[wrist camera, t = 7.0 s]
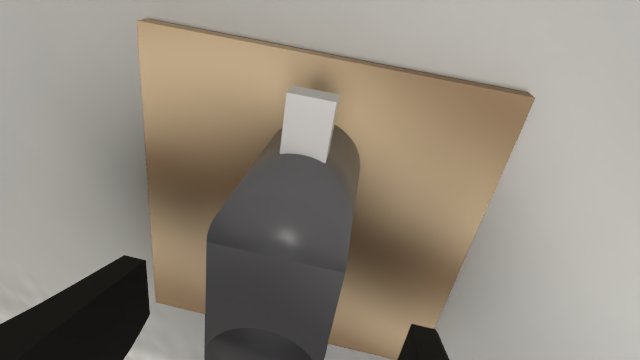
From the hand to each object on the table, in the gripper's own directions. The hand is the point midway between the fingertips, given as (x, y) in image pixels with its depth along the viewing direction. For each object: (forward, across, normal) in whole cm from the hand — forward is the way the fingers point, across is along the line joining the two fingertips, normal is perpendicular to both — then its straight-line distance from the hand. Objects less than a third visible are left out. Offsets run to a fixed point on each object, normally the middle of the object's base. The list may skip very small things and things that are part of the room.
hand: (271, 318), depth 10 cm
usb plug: (+4, 0, -1) cm, 5 cm away
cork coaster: (+5, 0, 0) cm, 5 cm away
